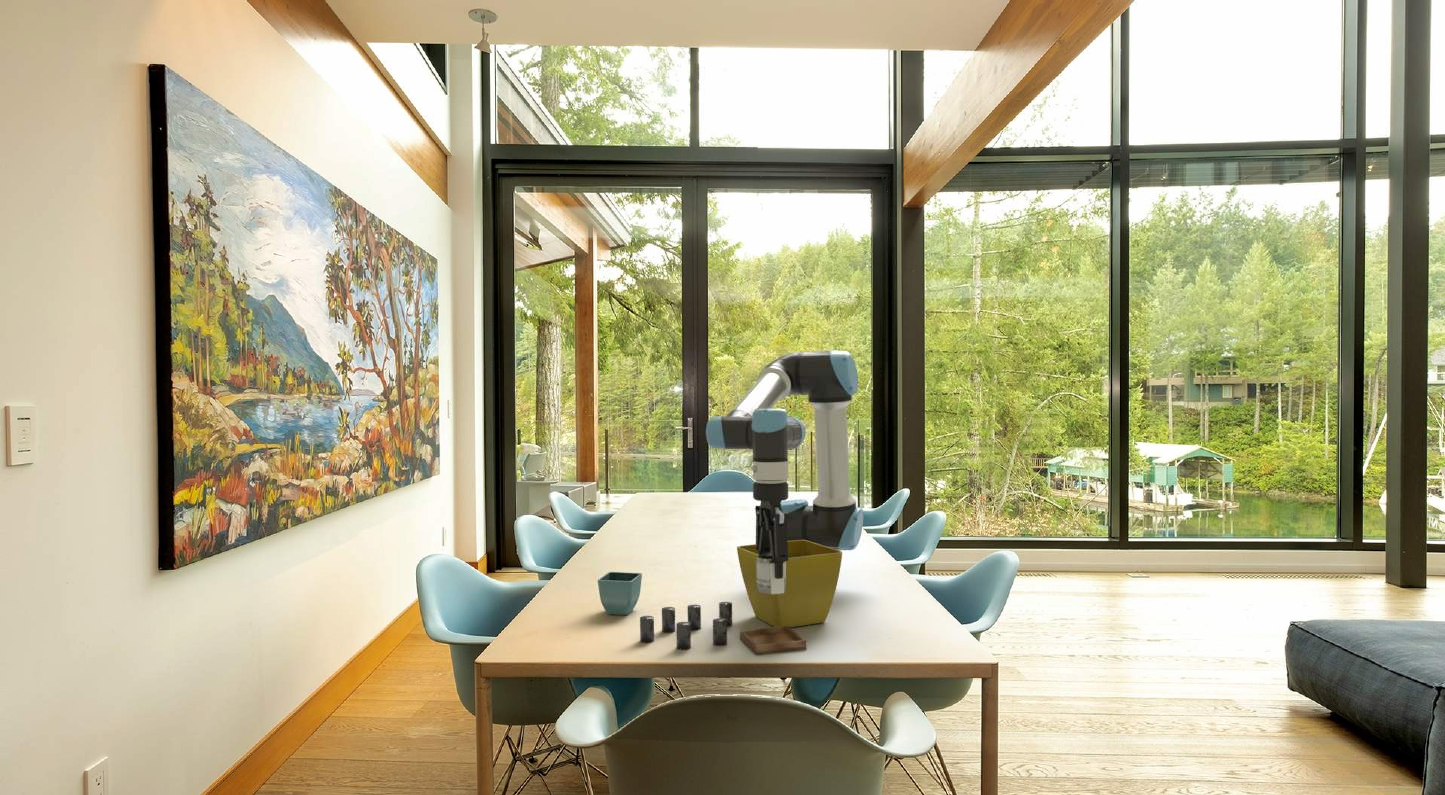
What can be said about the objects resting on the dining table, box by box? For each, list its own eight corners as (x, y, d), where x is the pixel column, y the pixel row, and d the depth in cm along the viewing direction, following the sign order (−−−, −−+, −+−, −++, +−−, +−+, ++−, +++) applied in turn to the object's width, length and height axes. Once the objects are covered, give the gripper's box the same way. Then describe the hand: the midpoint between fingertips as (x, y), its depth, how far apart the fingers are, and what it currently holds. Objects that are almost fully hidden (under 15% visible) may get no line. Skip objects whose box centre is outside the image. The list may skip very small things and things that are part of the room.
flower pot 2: (736, 614, 191) (735, 545, 191) (804, 605, 199) (803, 538, 199) (771, 636, 174) (770, 560, 174) (845, 625, 181) (844, 552, 181)
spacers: (730, 622, 184) (729, 601, 184) (751, 642, 169) (750, 619, 169) (634, 632, 178) (634, 609, 178) (647, 653, 163) (647, 629, 163)
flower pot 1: (632, 618, 189) (631, 581, 189) (597, 616, 191) (596, 579, 190) (643, 608, 197) (642, 572, 197) (609, 607, 199) (609, 571, 199)
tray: (787, 634, 175) (787, 626, 175) (806, 649, 164) (806, 640, 164) (740, 639, 172) (740, 630, 172) (756, 655, 161) (756, 646, 161)
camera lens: (790, 589, 169) (790, 552, 169) (778, 595, 164) (777, 558, 164) (764, 585, 172) (764, 549, 172) (751, 592, 167) (751, 555, 167)
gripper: (740, 477, 176) (741, 580, 176) (769, 486, 157) (770, 602, 158) (771, 476, 178) (772, 578, 178) (804, 485, 160) (805, 599, 160)
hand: (771, 589), depth 168 cm, fingers closed on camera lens, 6 cm apart
